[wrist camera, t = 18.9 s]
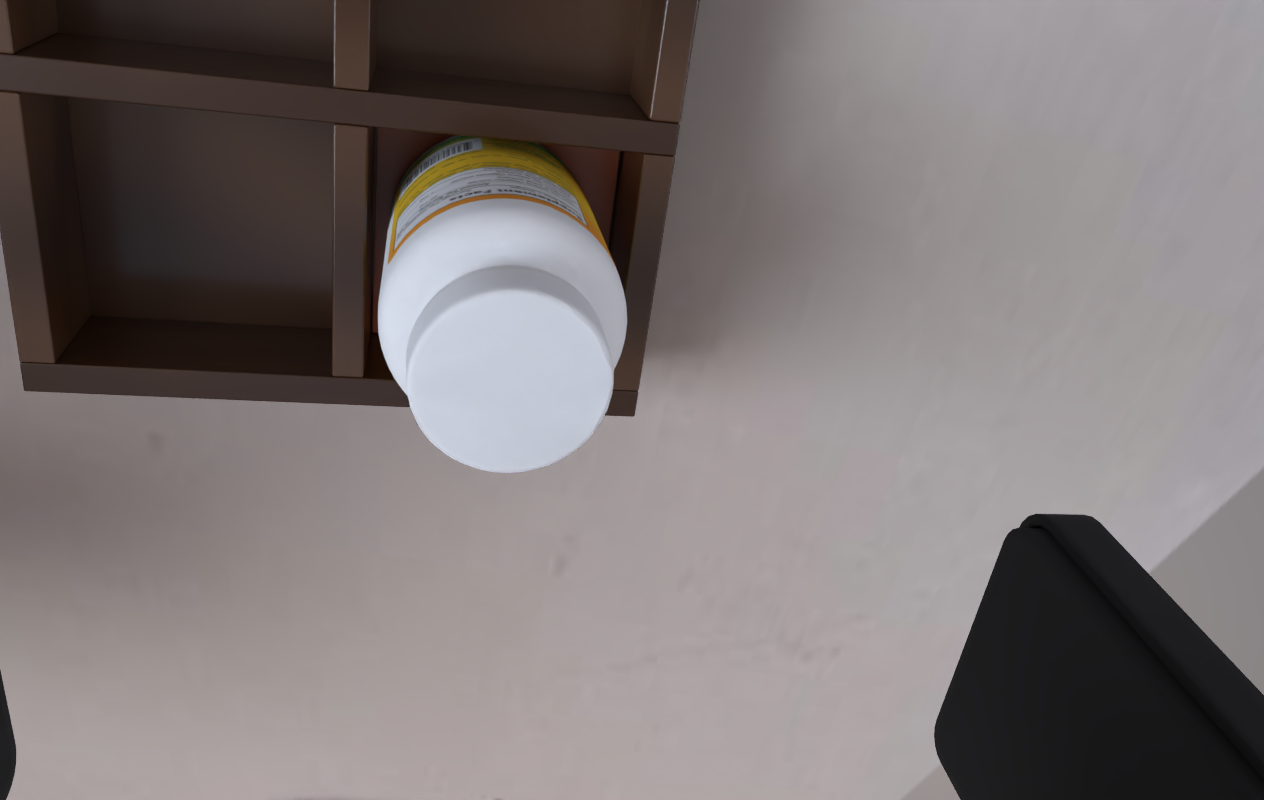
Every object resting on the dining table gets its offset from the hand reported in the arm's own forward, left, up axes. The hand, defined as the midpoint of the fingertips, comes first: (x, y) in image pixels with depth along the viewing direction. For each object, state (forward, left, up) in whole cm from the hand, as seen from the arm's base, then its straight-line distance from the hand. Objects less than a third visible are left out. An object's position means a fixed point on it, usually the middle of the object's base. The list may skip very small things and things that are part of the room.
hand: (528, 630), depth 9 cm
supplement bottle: (+3, +1, -20) cm, 20 cm away
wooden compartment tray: (-1, -3, -21) cm, 21 cm away
